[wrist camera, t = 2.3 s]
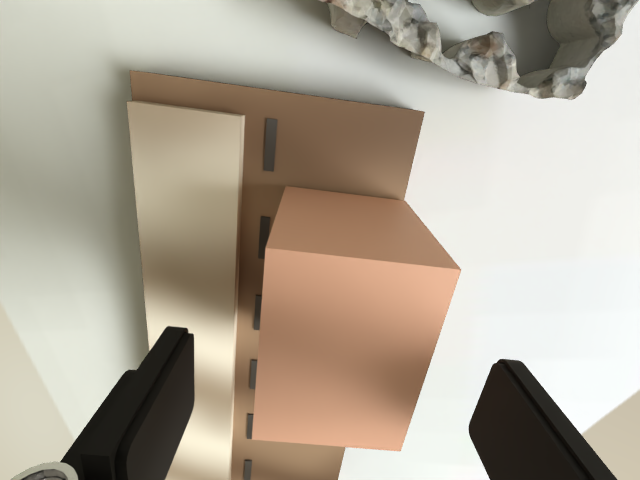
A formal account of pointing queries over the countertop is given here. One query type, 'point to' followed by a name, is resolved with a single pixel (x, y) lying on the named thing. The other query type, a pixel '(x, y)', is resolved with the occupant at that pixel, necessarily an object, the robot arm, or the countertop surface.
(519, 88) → the egg carton
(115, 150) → the countertop surface
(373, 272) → the peach rectangular block
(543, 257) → the countertop surface
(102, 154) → the countertop surface
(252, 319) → the board
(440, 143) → the countertop surface
